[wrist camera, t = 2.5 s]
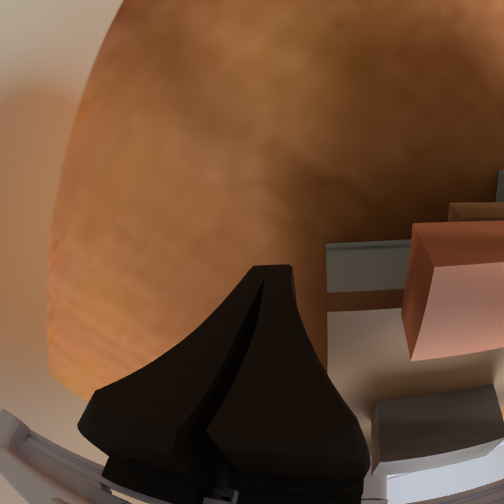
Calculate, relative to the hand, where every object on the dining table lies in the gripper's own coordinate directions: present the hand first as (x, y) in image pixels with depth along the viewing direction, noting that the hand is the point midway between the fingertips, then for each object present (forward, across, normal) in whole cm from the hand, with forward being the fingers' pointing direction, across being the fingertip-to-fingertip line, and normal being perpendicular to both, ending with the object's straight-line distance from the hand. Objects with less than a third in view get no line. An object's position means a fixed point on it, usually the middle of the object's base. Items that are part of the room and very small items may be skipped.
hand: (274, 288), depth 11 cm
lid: (+3, -9, +9) cm, 13 cm away
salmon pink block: (0, -9, 0) cm, 9 cm away
